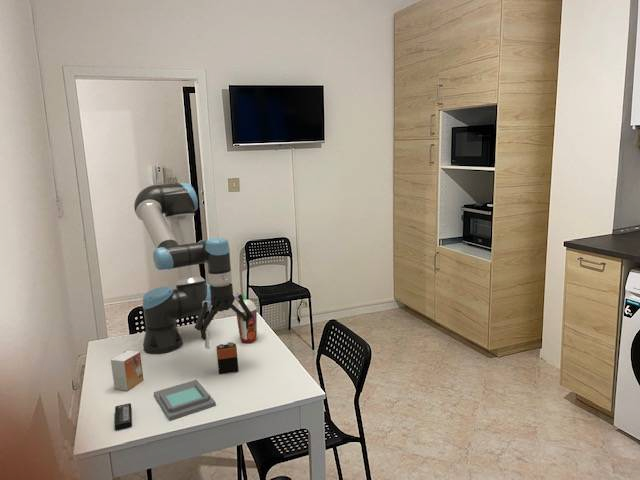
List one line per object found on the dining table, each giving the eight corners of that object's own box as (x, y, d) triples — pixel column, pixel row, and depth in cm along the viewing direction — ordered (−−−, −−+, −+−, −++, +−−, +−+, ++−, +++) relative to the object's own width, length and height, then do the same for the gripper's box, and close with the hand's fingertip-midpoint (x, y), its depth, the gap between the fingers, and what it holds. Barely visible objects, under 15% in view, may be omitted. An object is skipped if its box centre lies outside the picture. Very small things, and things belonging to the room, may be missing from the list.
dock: (154, 395, 153) (153, 388, 153) (196, 382, 160) (196, 376, 160) (169, 420, 138) (168, 413, 138) (215, 405, 145) (215, 398, 145)
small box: (127, 391, 157) (123, 361, 155) (114, 389, 159) (110, 359, 157) (144, 380, 164) (140, 351, 162) (131, 378, 166) (127, 349, 164)
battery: (238, 372, 167) (236, 345, 165) (218, 375, 165) (216, 347, 163) (237, 366, 171) (235, 340, 169) (218, 369, 169) (216, 343, 168)
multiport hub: (115, 432, 134) (114, 424, 134) (116, 413, 144) (115, 406, 144) (132, 428, 136) (131, 420, 135) (131, 409, 146) (130, 402, 145)
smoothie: (241, 336, 199) (238, 290, 195) (261, 336, 198) (257, 290, 194) (235, 344, 191) (231, 296, 187) (255, 344, 190) (252, 296, 186)
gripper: (187, 293, 153) (194, 356, 156) (259, 279, 166) (263, 337, 169) (181, 288, 159) (187, 348, 163) (250, 275, 172) (254, 331, 176)
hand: (226, 343), depth 166 cm, fingers open, 13 cm apart
